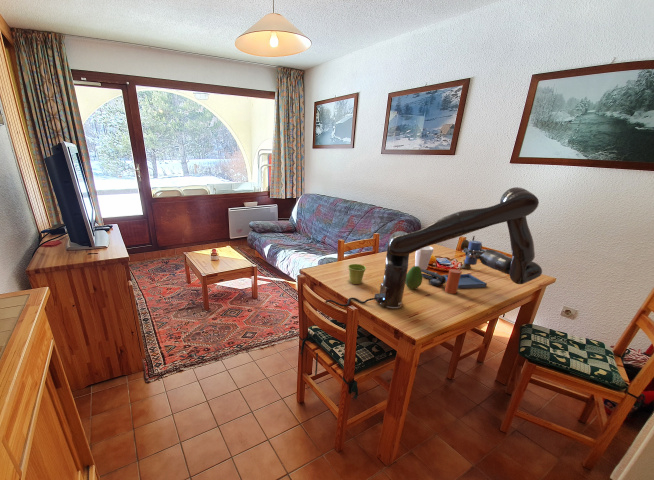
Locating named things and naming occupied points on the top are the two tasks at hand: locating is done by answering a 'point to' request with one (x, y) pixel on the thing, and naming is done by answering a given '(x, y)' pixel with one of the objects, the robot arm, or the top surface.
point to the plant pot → (356, 273)
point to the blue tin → (475, 246)
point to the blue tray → (469, 281)
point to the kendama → (463, 245)
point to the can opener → (434, 277)
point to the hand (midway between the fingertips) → (469, 249)
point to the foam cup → (423, 257)
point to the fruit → (414, 277)
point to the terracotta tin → (452, 281)
